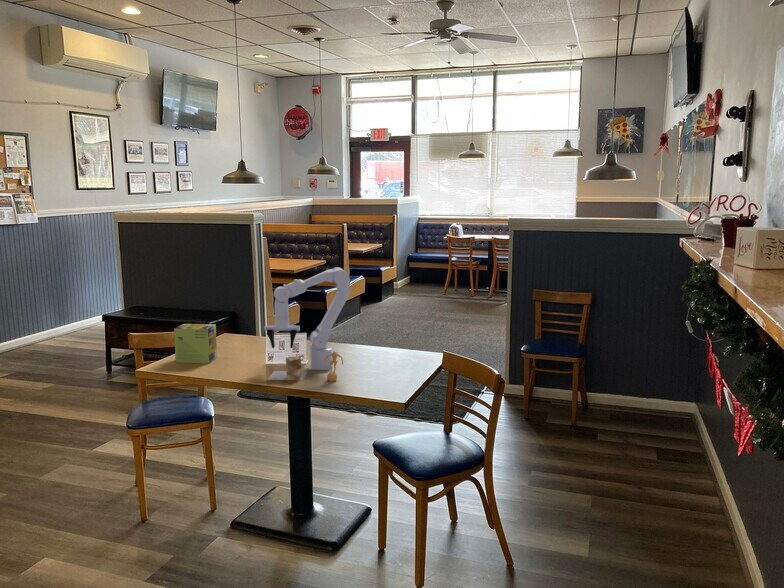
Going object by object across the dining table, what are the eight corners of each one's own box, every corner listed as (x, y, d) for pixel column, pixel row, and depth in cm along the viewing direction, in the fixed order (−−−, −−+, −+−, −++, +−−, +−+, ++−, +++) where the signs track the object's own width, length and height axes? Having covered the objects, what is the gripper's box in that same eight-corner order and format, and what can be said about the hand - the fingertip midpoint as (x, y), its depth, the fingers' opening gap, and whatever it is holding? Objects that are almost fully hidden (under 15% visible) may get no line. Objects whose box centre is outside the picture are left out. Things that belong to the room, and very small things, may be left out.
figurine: (320, 381, 243) (320, 352, 241) (327, 377, 248) (327, 349, 246) (339, 384, 240) (339, 354, 238) (346, 380, 245) (345, 351, 244)
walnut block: (296, 365, 249) (296, 356, 248) (301, 368, 245) (301, 358, 244) (286, 367, 246) (286, 357, 246) (290, 370, 243) (290, 360, 242)
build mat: (307, 372, 255) (307, 371, 255) (302, 381, 243) (302, 380, 243) (273, 372, 255) (273, 371, 255) (267, 381, 243) (267, 379, 243)
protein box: (209, 363, 268) (208, 329, 265) (175, 363, 269) (173, 328, 266) (217, 357, 278) (216, 324, 276) (184, 356, 279) (183, 323, 276)
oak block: (301, 375, 249) (301, 366, 248) (299, 379, 244) (299, 369, 243) (288, 375, 249) (288, 366, 248) (286, 379, 244) (286, 369, 243)
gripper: (300, 314, 258) (301, 345, 260) (266, 313, 258) (266, 345, 260) (298, 317, 251) (298, 349, 253) (262, 317, 251) (263, 349, 253)
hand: (282, 347), depth 256 cm, fingers open, 7 cm apart
